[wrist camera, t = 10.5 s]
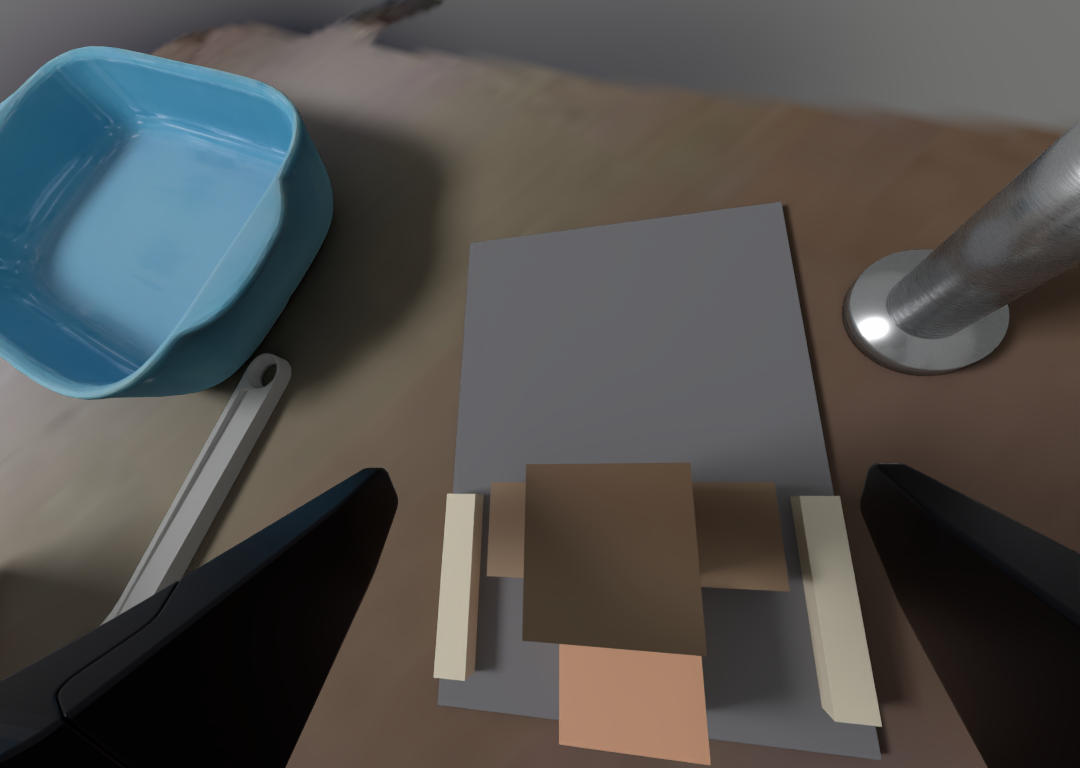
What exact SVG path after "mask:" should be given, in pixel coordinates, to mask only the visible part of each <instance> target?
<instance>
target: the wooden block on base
mask: <svg viewBox="0 0 1080 768" xmlns="http://www.w3.org/2000/svg"><path fill="white" fill-rule="evenodd" d="M487 576H495V577H515V578H524V579H523V622H522V641H530V642H542V643H554V644H566V645H577V646H589V647H601V648H613V649H624V650H636V651H648V652H660V653H671V654H683V655H695V656H707V649H706V638H705V626H704V615H703V603H702V592H701V587H711V588H730V589H750V590H769V591H789V592H790V588H789V581H788V574H787V566H786V559H785V552H784V545H783V538H782V531H781V524H780V517H779V510H778V503H777V496H776V489H775V482H692V477H691V466H690V463H600V464H526V482H491V494H490V516H489V537H488V559H487Z"/></svg>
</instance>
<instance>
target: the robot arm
mask: <svg viewBox="0 0 1080 768" xmlns="http://www.w3.org/2000/svg"><path fill="white" fill-rule="evenodd" d="M397 506H398V497H397V494H396V491H395V489H394V487H393V484H392V482H391V479H390V477H389V474H388V472H387V471H386V470H385V469H384V468H365V469H363V470H361V471H359V472H358V473H356V474H354V475H353V476H351V477H349V478H348V479H346V480H344V481H343V482H341V483H339V484H338V485H336V486H334V487H333V488H331V489H329V490H328V491H326V492H324V493H323V494H321V495H319V496H318V497H316V498H314V499H313V500H311V501H309V502H308V503H306V504H304V505H303V506H301V507H299V508H298V509H296V510H294V511H293V512H291V513H289V514H288V515H286V516H284V517H283V518H281V519H279V520H278V521H276V522H274V523H273V524H271V525H269V526H268V527H266V528H264V529H263V530H261V531H259V532H258V533H256V534H254V535H253V536H251V537H249V538H248V539H246V540H244V541H243V542H241V543H239V544H238V545H236V546H234V547H233V548H231V549H229V550H228V551H226V552H224V553H223V554H221V555H219V556H218V557H216V558H214V559H213V560H211V561H209V562H208V563H206V564H204V565H203V566H201V567H199V568H198V569H196V570H194V571H193V572H191V573H189V574H188V575H186V576H184V577H183V578H182V579H181V580H180V581H176V582H174V583H172V584H171V585H169V586H167V587H166V588H164V589H162V590H161V591H159V592H157V593H156V594H154V595H152V596H151V597H149V598H147V599H146V600H144V601H142V602H140V603H139V604H137V605H135V606H134V607H132V608H130V609H128V610H127V611H125V612H123V613H122V614H120V615H118V616H117V617H115V618H113V619H111V620H109V621H108V622H106V623H104V624H102V625H101V626H99V627H97V628H95V629H93V630H92V631H90V632H88V633H86V634H84V635H83V636H81V637H79V638H77V639H75V640H74V641H72V642H70V643H68V644H66V645H65V646H63V647H61V648H59V649H57V650H55V651H54V652H52V653H50V654H48V655H46V656H44V657H43V658H41V659H39V660H37V661H35V662H33V663H32V664H30V665H28V666H26V667H24V668H23V669H21V670H19V671H17V672H15V673H13V674H12V675H10V676H8V677H6V678H4V679H2V680H1V681H0V768H285V767H286V765H287V763H288V761H289V759H290V756H291V754H292V752H293V750H294V748H295V746H296V743H297V741H298V739H299V737H300V735H301V733H302V730H303V728H304V726H305V724H306V722H307V720H308V717H309V715H310V713H311V711H312V709H313V706H314V704H315V702H316V700H317V698H318V696H319V693H320V691H321V689H322V687H323V685H324V683H325V680H326V678H327V676H328V674H329V672H330V669H331V667H332V665H333V663H334V661H335V659H336V656H337V654H338V652H339V650H340V648H341V646H342V643H343V641H344V639H345V637H346V635H347V632H348V630H349V628H350V626H351V624H352V622H353V619H354V617H355V615H356V613H357V611H358V609H359V606H360V604H361V602H362V600H363V598H364V596H365V593H366V591H367V589H368V587H369V584H370V582H371V580H372V578H373V575H374V573H375V570H376V567H377V565H378V562H379V559H380V556H381V553H382V550H383V548H384V545H385V542H386V539H387V536H388V533H389V530H390V527H391V525H392V522H393V519H394V516H395V513H396V510H397ZM860 507H861V512H862V516H863V518H864V520H865V523H866V525H867V528H868V530H869V533H870V535H871V538H872V540H873V542H874V545H875V547H876V550H877V552H878V555H879V557H880V560H881V562H882V564H883V567H884V569H885V572H886V574H887V577H888V579H889V581H890V584H891V586H892V589H893V591H894V593H895V595H896V598H897V600H898V602H899V604H900V606H901V608H902V610H903V612H904V614H905V616H906V618H907V620H908V622H909V624H910V625H911V627H912V629H913V631H914V633H915V635H916V636H917V638H918V640H919V642H920V644H921V646H922V647H923V649H924V651H925V653H926V655H927V657H928V659H929V660H930V662H931V664H932V666H933V668H934V670H935V671H936V673H937V675H938V677H939V679H940V681H941V682H942V684H943V686H944V688H945V690H946V692H947V694H948V695H949V697H950V699H951V701H952V703H953V705H954V706H955V708H956V710H957V712H958V714H959V716H960V717H961V719H962V721H963V723H964V725H965V727H966V729H967V730H968V732H969V734H970V736H971V738H972V740H973V741H974V743H975V745H976V747H977V749H978V751H979V752H980V754H981V756H982V758H983V760H984V762H985V764H986V765H987V767H988V768H1080V554H1079V553H1077V552H1075V551H1073V550H1071V549H1069V548H1067V547H1065V546H1063V545H1061V544H1059V543H1057V542H1055V541H1053V540H1051V539H1050V538H1048V537H1046V536H1044V535H1042V534H1040V533H1038V532H1036V531H1034V530H1032V529H1030V528H1028V527H1026V526H1024V525H1022V524H1020V523H1018V522H1016V521H1014V520H1012V519H1011V518H1009V517H1007V516H1005V515H1003V514H1001V513H999V512H997V511H995V510H993V509H991V508H989V507H987V506H985V505H983V504H981V503H979V502H977V501H975V500H973V499H972V498H970V497H968V496H966V495H964V494H962V493H960V492H958V491H956V490H954V489H952V488H950V487H948V486H946V485H944V484H942V483H940V482H938V481H936V480H935V479H933V478H931V477H929V476H927V475H925V474H923V473H921V472H919V471H917V470H915V469H913V468H911V467H909V466H907V465H905V464H902V463H876V464H873V465H872V466H871V467H870V468H869V470H868V473H867V477H866V481H865V485H864V488H863V492H862V496H861V500H860Z"/></svg>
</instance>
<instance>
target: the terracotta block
mask: <svg viewBox="0 0 1080 768" xmlns="http://www.w3.org/2000/svg"><path fill="white" fill-rule="evenodd" d="M559 744H560V745H567V746H574V747H581V748H589V749H596V750H603V751H610V752H618V753H625V754H632V755H639V756H647V757H654V758H661V759H668V760H676V761H683V762H690V763H697V764H705V765H711V764H710V752H709V740H708V728H707V716H706V704H705V693H704V681H703V669H702V657H701V656H695V655H683V654H671V653H660V652H648V651H636V650H624V649H613V648H601V647H589V646H577V645H566V644H559Z"/></svg>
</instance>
